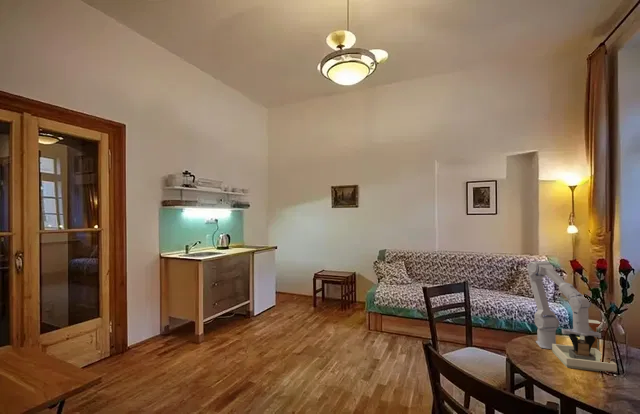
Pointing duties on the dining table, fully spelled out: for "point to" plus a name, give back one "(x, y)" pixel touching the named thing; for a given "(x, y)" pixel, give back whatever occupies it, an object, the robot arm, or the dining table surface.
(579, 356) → the cream square tray
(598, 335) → the robot arm
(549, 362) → the dining table surface
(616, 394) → the dining table surface
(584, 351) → the peg
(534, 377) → the dining table surface
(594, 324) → the small box
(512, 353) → the dining table surface
